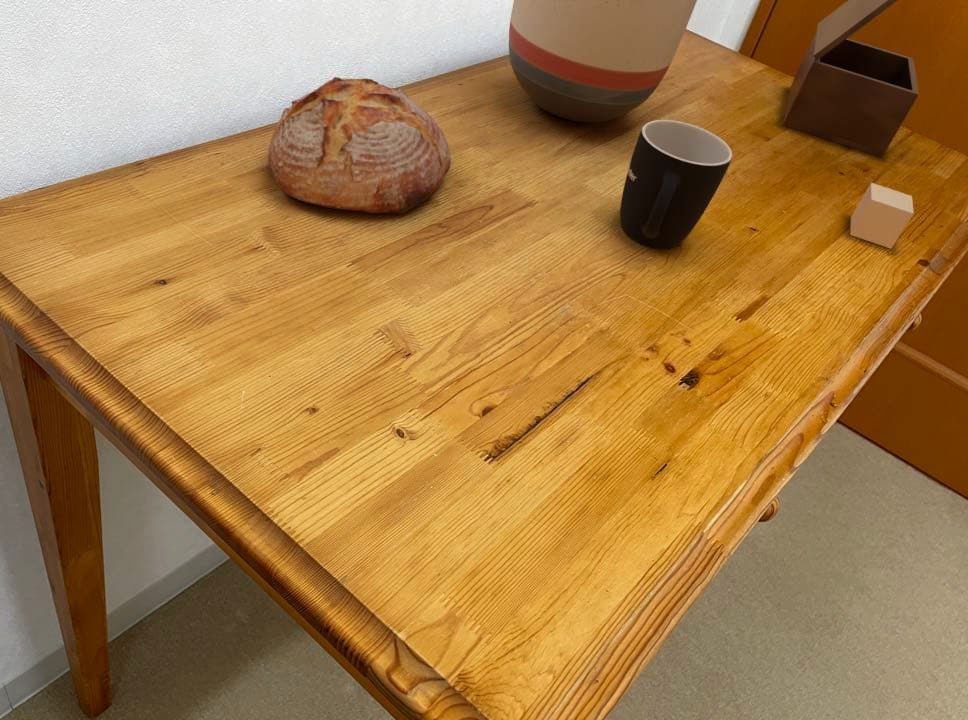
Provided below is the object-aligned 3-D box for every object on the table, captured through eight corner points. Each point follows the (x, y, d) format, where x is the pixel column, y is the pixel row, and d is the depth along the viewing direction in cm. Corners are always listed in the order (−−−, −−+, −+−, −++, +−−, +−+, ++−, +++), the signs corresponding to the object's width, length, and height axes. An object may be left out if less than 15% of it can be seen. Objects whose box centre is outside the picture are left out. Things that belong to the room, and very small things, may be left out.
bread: (229, 178, 83) (225, 75, 76) (362, 127, 95) (369, 35, 89) (354, 246, 76) (362, 140, 70) (480, 182, 89) (496, 87, 82)
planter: (579, 163, 96) (644, -39, 82) (457, 87, 106) (497, -106, 91) (678, 130, 108) (751, -51, 94) (561, 65, 118) (611, -109, 103)
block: (890, 231, 98) (912, 195, 95) (891, 249, 95) (914, 213, 92) (850, 217, 99) (871, 182, 96) (850, 235, 95) (871, 199, 92)
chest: (880, 117, 125) (913, 58, 119) (882, 157, 114) (919, 94, 108) (789, 88, 127) (817, 29, 121) (782, 125, 116) (813, 61, 110)
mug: (617, 199, 92) (650, 110, 85) (697, 227, 90) (737, 139, 83) (592, 250, 83) (626, 155, 76) (680, 282, 82) (723, 189, 75)
